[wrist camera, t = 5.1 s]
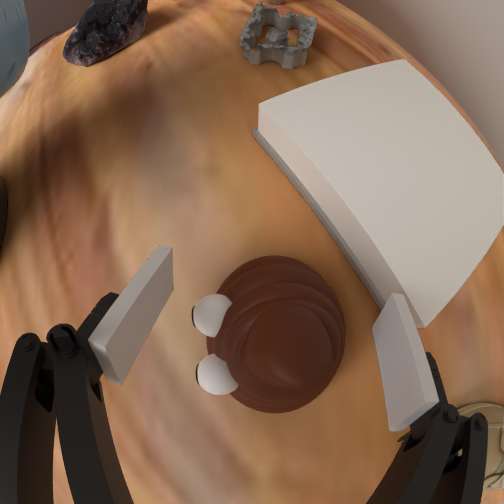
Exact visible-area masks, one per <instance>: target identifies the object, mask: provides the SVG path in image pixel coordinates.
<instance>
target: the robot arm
mask: <svg viewBox="0 0 504 504" xmlns="http://www.w3.org/2000/svg"><path fill="white" fill-rule="evenodd" d="M28 56H29V30H28V22H27V16H26V11H25V7H24V3H23V0H0V99H1V97H2V96H3V95H4V94H5V93H6V92H7V91H8V90H9V89H11V88H12V87H13V86H14V85H15V83H16V82H17V81H18V80H19V78H20V77H21V75H22V74H23V72H24V70H25V67H26V64H27V61H28ZM6 216H7V191H6V186H5V184H4V182H3V180H2V179H1V178H0V248H1V244H2V239H3V235H4V230H5V224H6ZM173 289H174V287H173V249H172V248H171V247H166V246H161V245H159V246H158V247H157V248H156V249H155V250H154V252H153V253H152V254H151V255H150V257H149V258H148V259H147V260H146V262H145V263H144V264H143V265H142V267H141V268H140V269H139V270H138V272H137V273H136V274H135V276H134V277H133V278H132V279H131V281H130V282H129V283H128V285H127V286H126V287H125V289H124V290H123V291H122V293H121V294H120V295H119V294H115V293H112V292H110V293H109V294H107V295H105V296H104V297H102V298H101V299H100V301H99V302H98V303H97V305H96V307H94V308H93V310H92V311H91V314H89V315H88V316H87V318H86V319H85V320H84V322H83V323H82V324H81V326H80V327H79V329H78V330H77V331H76V330H75V329H74V328H73V326H71V325H69V324H58V325H56V326H54V327H53V328H51V329H50V331H49V332H48V333H47V337H46V339H47V341H48V343H46V342H41V341H40V339H39V337H38V336H37V335H36V334H34V333H26V334H23V335H22V336H21V337H20V338H19V339H18V340H17V342H16V344H15V347H14V350H13V353H12V356H11V359H10V362H9V365H8V369H7V372H6V375H5V379H4V383H3V386H2V390H1V394H0V504H54V502H53V449H54V435H55V425H56V416H57V425H58V432H59V439H60V445H61V451H62V456H63V461H64V466H65V470H66V475H67V479H68V483H69V487H70V490H71V494H72V497H73V500H74V504H134V503H133V500H132V498H131V495H130V492H129V490H128V487H127V484H126V481H125V479H124V476H123V473H122V470H121V466H120V463H119V460H118V457H117V453H116V450H115V446H114V442H113V439H112V435H111V431H110V426H109V422H108V417H107V413H106V408H105V403H104V397H103V392H102V386H101V382H100V377H101V375H102V374H104V376H105V377H106V379H107V380H109V381H111V382H114V383H116V384H118V385H121V386H122V384H123V382H124V380H125V378H126V376H127V374H128V372H129V370H130V368H131V366H132V364H133V363H134V361H135V359H136V357H137V355H138V353H139V351H140V349H141V347H142V345H143V344H144V342H145V340H146V338H147V336H148V334H149V332H150V331H151V329H152V327H153V325H154V323H155V321H156V320H157V318H158V316H159V314H160V312H161V311H162V309H163V307H164V305H165V303H166V302H167V300H168V298H169V296H170V295H171V293H172V291H173ZM372 332H373V337H374V342H375V346H376V351H377V356H378V361H379V367H380V372H381V378H382V384H383V390H384V397H385V404H386V411H387V419H388V427H389V431H403V430H404V429H405V428H407V427H408V426H409V425H410V428H411V431H409V432H408V433H407V434H405V435H404V436H402V437H401V438H400V439H399V440H398V441H397V442H400V441H402V440H403V439H404V441H403V443H401V444H402V445H401V447H400V449H399V451H398V453H397V454H396V456H395V458H394V460H393V462H392V464H391V465H390V467H389V469H388V470H387V472H386V474H385V476H384V477H383V479H382V480H381V482H380V484H379V485H378V487H377V488H376V490H375V491H374V493H373V494H372V496H371V497H370V499H369V500H368V502H367V503H366V504H480V502H481V497H482V492H483V485H484V479H485V471H486V461H487V447H488V421H487V419H486V417H485V416H484V415H483V414H482V413H480V412H476V413H475V414H473V415H472V416H471V417H465V416H462V415H459V412H458V410H457V409H456V408H455V407H454V406H453V405H451V404H448V402H447V398H446V394H445V391H444V387H443V384H442V380H441V378H440V374H439V371H438V367H437V364H436V361H435V359H434V358H433V357H432V355H431V354H430V352H425V351H424V348H423V345H422V342H421V339H420V336H419V333H418V331H417V328H416V325H415V322H414V320H413V317H412V315H411V312H410V309H409V307H408V304H407V302H406V300H405V297H404V295H403V294H398V293H393V292H392V293H391V295H390V297H389V299H388V301H387V302H386V304H385V306H384V308H383V309H382V311H381V313H380V315H379V316H378V318H377V320H376V321H375V323H374V325H373V326H372ZM460 450H462V455H460V456H459V451H460Z"/></svg>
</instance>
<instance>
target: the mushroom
mask: <svg viewBox="0 0 504 504" xmlns="http://www.w3.org/2000/svg"><path fill="white" fill-rule="evenodd" d="M284 1H285V0H268V2H269V3H271V4H278V5H279V4H283V3H284Z"/></svg>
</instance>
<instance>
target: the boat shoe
mask: <svg viewBox="0 0 504 504" xmlns="http://www.w3.org/2000/svg"><path fill="white" fill-rule="evenodd" d="M457 410H458V412H459V415H462V416H465V417H471V416H472V415H473V414H475V413H476V412H480V413H482V414H483V415H484V416H485V417H486V419H487V421H488V447H487V461H486V471H485V479H484V485H483V490H488V489H496V488H502V489H503V490H504V407H502V406H499V405H495V404H490V403H475V404H471V405H467V406H464V407H462V408H460V409H457ZM460 455H462V450H460V451H459V456H460Z"/></svg>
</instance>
